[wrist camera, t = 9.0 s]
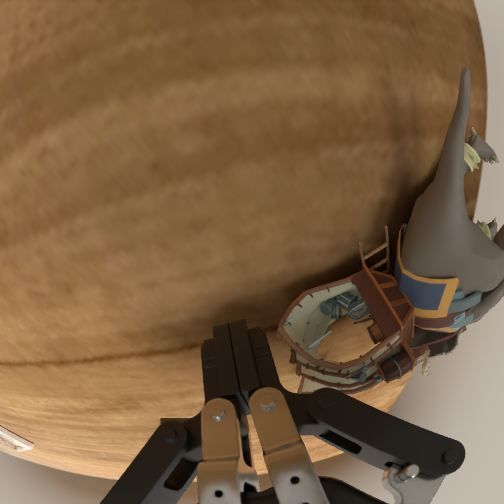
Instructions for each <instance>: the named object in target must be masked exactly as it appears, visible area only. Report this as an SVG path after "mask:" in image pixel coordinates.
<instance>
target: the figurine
mask: <svg viewBox="0 0 504 504" xmlns="http://www.w3.org/2000/svg"><path fill="white" fill-rule="evenodd" d="M470 92H471V84H470V70H469V69H467V68H465V67H462V71H461V77H460V88H459V95H458V101H457V106H456V110H455V113H454V115H453V118H452V121H451V124H450V126H449V129H448V132H447V135H446V138H445V142H444V145H443V150H442V154H441V158H440V162H439V166H438V169H437V172H436V175H435V178H434V181H433V182H432V183H431V184H430V185H429V186H428V187H427V189H426V190H425V191H424V193H423V194H421V195H420V196H419V197H418V198H417V200H416V202H415V205H414V208H413V211H412V214H411V218H410V221H409V224H408V226H407V224H405V223H404V224H403V226H402V227H401V229H400V230H399V236H398V244H397V253H396V261H395V269H394V277H393V275H392V274H391V275H390V258H389V238H388V227H387V226H385V239H386V242H385V243H384V244H382V245H381V246H379V247H377V248H376V249H374V250H373V251H371V252H369V253H368V254H366V255H363V250H362V244H361V242H358V246H359V250H360V256H361V261H362V269H363V270H361V271H360V272H358V273H356V274H353V275H351V276H348V277H347V278H345V279H341V280H338V281H334V282H331V283H327V284H326V283H325V284H324V285H321V286H318V287H315V288H311V289H308V290H305V291H303V292H302V293H301V294H300V295H299V296H298V297H297V298H296V299H295V300H294V301H293V302H292V303H291V304H290V305H289V307H288V309H287V310H286V312H285V313H284V315H283V317H282V318H281V320H280V322H279V325H278V329H277V332H276V336H277V338H278V339H280V340H282V338H284V340H285V341H286V343H287V344H288V345H289V347H290V348H291V350H290V351H291V352H292V353H291V357H290V361H289V362H290V363H291V364H293V365H294V363H296V364H297V369H296V375H298V376H299V377H300V375H301V376H302V379H301V382H300V386H299V389H298V392H297V394H312V393H313V392H314V391H316V390H317V389H320V388H324V387H330V388H334V389H336V390H338V391H340V392H342V393H344V394H355V393H358V392H361V391H364V390H367V389H370V388H372V387H374V386H375V385H377V384H378V383H380V382H381V381H383V380H384V381H386V382H387V383H389V381H392V380H395V379H401V377H402V376H403V375H404V374H406V373H407V372H409V371H410V370H411V371H412V370H413V368H414V366H416V365H417V364H418V363H420V362H422V361H424V360H425V361H424V363H423V365H422V373H423V375H424V376H425V377H426V376H428V375H426V372H427V373H428V370H427V369H428V368H429V367H428V366H429V363H430V362H431V360H432V358H435V356H437V357H439V356H440V354H441V355H448V354H449V353H451V352H452V351H453V350H454V349H455V348H456V346H458V343H457V342H458V338H459V337H458V336H459V335H460V334H461V333H462V332H464V331H466V326H464V325H468V324H472V323H474V322H477V321H478V320H480V319H481V318H482V317H483V316H484V315H485V314H486V313H487V312H488V311H489V310H490V309H491V308H492V307H494V306H495V305H496V304H497V303H498V302H499V301H500V300H501V298H502V297H503V296H504V225H503V226H502V227H501V228H500V230H499V231H498V232H497V223H496V218H494V220H493V221H492V222H490V223H489V224H486V223H484V222H482V223H480V222H479V221H478V222H477V224H475V223H474V222H472V221H471V220H470V219H469V218H468V216H467V213H466V206H465V198H464V187H463V185H464V175H465V174H466V173H467V171H468V172H473V170H474V168H477V169H479V167H478V164H477V163H480V158H479V157H482V158H483V160H484V161H485V162H488V161H489V162H490V163H491V164H493V160H494V161H495V162H497V163H498V162H499V160H498V158H497V156H496V154H495V152H494V150H492V148H491V147H490V146H489V145H488V144H487V143H486V142H485V141H484V140H483V139H482V137H481V136H480V135H478V134H477V133H476V131H475V129H474V128H473V127H472V130H471V134H472V136H471V137H470V139H469V141H468V143H465V142H464V141H465V133H466V125H467V120H468V114H469V106H470ZM492 159H493V160H492ZM404 225H405V226H404ZM490 239H491V240H490ZM385 247H386V254H387V257H386V258H385V259H383V260H382V261H380V262H378V263H377V264H375V265H374V266H372V267H370V268H369V269H368V268H367V266H366V265H365V261H364V260H366V259H367V258H369V257H370V256H372V255H374V254H375V253H377V252H378V251H380V250H382V249H383V248H385ZM385 262H387V270H385V271H383V272H378V271H375V270H374V269H376V268H377V267H379V266H381V265H382V264H384V263H385ZM363 311H365V312H363ZM355 312H358V313H355ZM361 312H363V313H361ZM353 313H355V314H353ZM359 313H361V314H359ZM364 313H366V314H364ZM369 313H371V314H372V315H369V317H371V316H373V317H371V318H368V319H364V320H362V321H358V322H355V323H354V324H357V323H361V322H366V321H369V320H372V319H373V321H374V323H373V324H372V325H371V326H370V327H369V326H368V328H367V329H368V332H369V334H370V337H371V339H372V340H373V342H374V344H377V343H378V342H381V343H380V344H378V345H377V346H376V347H374V348H373V349H372V350H370V351H369V352H367V353H366V354H365V355H363V356H362V355H360V358H358V359H355V360H352V361H348V362H345V363H342V362H341V363H340V362H335V361H331V360H326V359H325V358H323V357H321V356H320V355H318V354H317V353H318V349H319V345H320V342H321V340H322V339H323V338H324V337H326V336H327V335H328V334H330V333H331V332H332V331H331V332H330V331H329V332H328V333H327V334H325V333H326V331H327V329H328V328H329V327H330V326H331V325H332V324H333V323H334V322H335V321H337V320H338V319H340V318H342V317H343V316H344V317H346V316H347V315H349V317H351V318H353V319H360V317H361V318H362V316H363V317H364V315H365V316H366V315H367V314H369ZM351 314H352V315H351ZM357 314H359V315H357ZM362 314H364V315H362ZM355 315H357V316H355ZM361 315H362V316H361ZM359 316H360V317H359ZM356 317H357V318H356ZM375 321H376V322H375ZM462 326H463V327H462ZM426 370H427V371H426Z"/></svg>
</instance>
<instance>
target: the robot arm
mask: <svg viewBox="0 0 504 504" xmlns="http://www.w3.org/2000/svg"><path fill="white" fill-rule="evenodd" d="M201 359H202V369H203V370H202V371H203V383H204V393H205V404H204V407H203V408H202V410H201V412H200V413H199V414H197V415H196V416H195V417H193V418H191V419H189V420H187V421H185V422H182V423H179V422H176V421H166V422H164V423H162V424H161V425H160V426H159V427H158V428H157V429H156V431H155V432H154V434H153V435H152V436H151V438H150V439H149V440H148V442H147V443H146V444H145V446H144V447H143V448H142V450H141V451H140V452H139V454H138V455H137V456H136V458H135V459H134V460H133V462H132V463H131V464H130V465H129V467H128V468H127V469H126V471H125V472H124V473H123V475H122V476H121V477H120V478H119V480H118V481H117V482H116V484H115V485H114V486H113V487H112V489H111V490H110V491H109V493H108V494H107V495H106V497H105V498H104V499H103V500H102V501H101V503H100V504H176V503H177V502H178V501H179V499H180V498H181V496H182V495H183V494H184V492H185V491H186V489H187V488H188V487H189V485H190V484H191V483H192V481H193V480H194V478H195V477H196V475H197V482H198V498H199V499H198V500H199V503H197V504H388V503H386V502H384V501H381V500H379V499H377V498H375V497H373V496H371V495H369V494H367V493H365V492H363V491H360V490H359V489H357V488H355V487H353V486H351V485H349V484H347V483H345V482H344V481H342V480H339V479H336V478H332V477H326V476H317V473H316V471H315V469H314V466H313V464H312V462H311V459H310V457H309V454H308V452H307V450H306V447H305V445H304V443H303V441H302V439H301V437H300V435H314V436H315V437H317V438H319V439H321V440H323V441H324V442H326V443H328V444H330V445H332V446H334V447H336V448H338V449H340V450H341V451H343V452H345V453H347V454H349V455H351V456H353V457H356V458H358V459H360V460H362V461H364V462H366V463H368V464H371V465H373V466H375V467H377V468H379V469H382V470H384V471H385V472H384V473H383V476H382V484H383V487H384V488H385V489H386V490H388V491H389V492H391V493H392V494H393V496H394V499H395V504H430V502H431V501H432V498H433V497H434V496H435V494H436V492H437V490H438V489H439V487H440V485H441V483H442V481H443V479H444V477H445V476H446V475H448V474H450V473H453V472H455V471H456V470H457V469H458V468H460V466H461V465H462V463H463V461H464V459H465V449H464V446H463V445H462V443H460V442H459V441H457V440H454V439H451V438H448V437H445V436H443V435H440V434H437V433H434V432H432V431H429V430H426V429H424V428H421V427H419V426H416V425H414V424H411V423H409V422H406V421H404V420H401V419H399V418H397V417H394V416H392V415H390V414H387V413H385V412H383V411H381V410H378V409H376V408H374V407H372V406H369V405H367V404H365V403H363V402H361V401H359V400H357V399H355V398H352V397H350V396H348V395H346V394H344V393H342V392H340V391H338V390H336V389H334V388H330V387H324V388H320V389H317V390H316V391H314V392H313V393H312V394H297V393H292V392H289V391H287V390H286V389H285V388H284V387H283V386H282V385H281V383H280V381H279V377H278V374H277V371H276V367H275V364H274V360H273V357H272V353H271V350H270V346H269V343H268V340H267V336H266V334H265V333H264V332H263V331H262V329H261V328H260V327H256V328H252V329H248V327H247V324H246V321H245V318H244V319H240V320H236V321H232V322H229V323H225V324H221V325H217V326H213V338H212V339H208V340H204V343H203V346H202V348H201ZM249 414H251V415H252V418H253V421H254V424H255V428H256V431H257V434H258V437H259V440H260V443H261V446H262V450H263V456H264V460H265V464H266V467H267V469H268V472H269V475H270V478H271V481H272V484H273V487H271V488H269V489H267V490H265V491H262V492H260V489H259V481H258V476H257V472H256V470H255V466H254V459H253V451H252V443H251V435H250V429H249V425H248V420H247V415H249Z"/></svg>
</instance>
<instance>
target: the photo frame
mask: <svg viewBox="0 0 504 504" xmlns="http://www.w3.org/2000/svg"><path fill="white" fill-rule="evenodd" d="M0 435H1V436H2V437H4V438H6V439H8V440H9V441H11V442H13V443H15V444H17V445H19V446H18V447H15V446H13V445H11V444H9V443H7V442H5V441H4V440H2V439H0V443H2V444H4V445H5V446H7V447H9V448H11V449H13V450H15V451H17V452H20V451H25V450H29V449H33V447H34V444H32V443H30V442H28V441H26V440H24V439H22V438H21V437H19V436H17V435H15V434H13V433H11V432H10V431H8V430H6V429H4V428H3V427H1V426H0Z"/></svg>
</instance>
